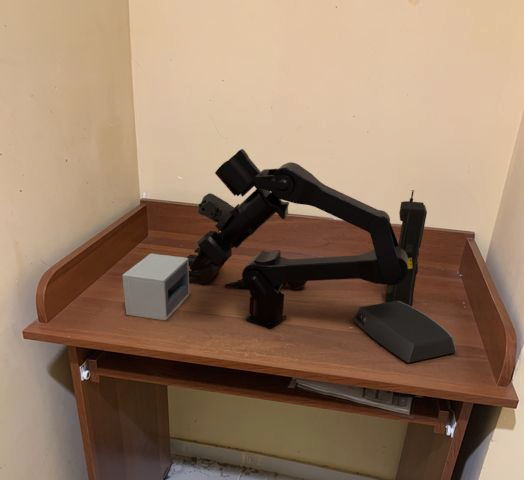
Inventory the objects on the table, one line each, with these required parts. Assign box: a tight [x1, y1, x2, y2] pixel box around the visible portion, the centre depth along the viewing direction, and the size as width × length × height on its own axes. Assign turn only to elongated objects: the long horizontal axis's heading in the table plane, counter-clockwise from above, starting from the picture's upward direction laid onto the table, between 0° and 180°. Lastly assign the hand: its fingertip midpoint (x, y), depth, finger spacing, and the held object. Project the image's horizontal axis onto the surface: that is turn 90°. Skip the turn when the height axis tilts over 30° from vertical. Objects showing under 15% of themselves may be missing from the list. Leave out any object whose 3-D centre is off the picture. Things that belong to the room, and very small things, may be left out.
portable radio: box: [384, 189, 428, 307], centre depth 116 cm, size 8×6×25 cm
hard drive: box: [352, 301, 457, 363], centre depth 106 cm, size 13×19×4 cm
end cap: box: [186, 247, 226, 285], centre depth 129 cm, size 10×7×7 cm
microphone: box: [224, 278, 308, 291], centre depth 125 cm, size 6×6×20 cm
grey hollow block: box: [122, 253, 190, 322], centre depth 113 cm, size 9×14×9 cm, turn 167°
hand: (198, 262), depth 108 cm, fingers open, 9 cm apart
